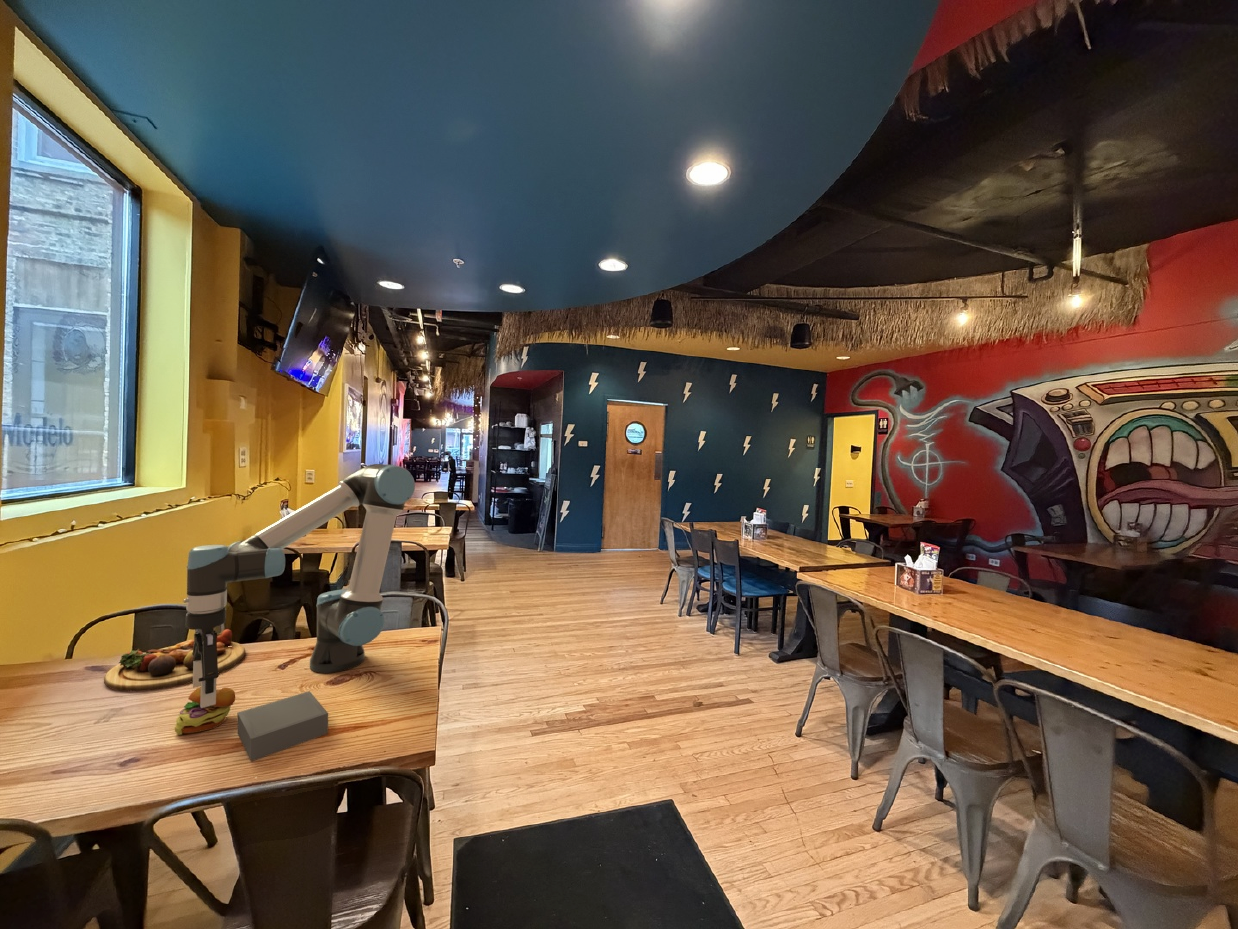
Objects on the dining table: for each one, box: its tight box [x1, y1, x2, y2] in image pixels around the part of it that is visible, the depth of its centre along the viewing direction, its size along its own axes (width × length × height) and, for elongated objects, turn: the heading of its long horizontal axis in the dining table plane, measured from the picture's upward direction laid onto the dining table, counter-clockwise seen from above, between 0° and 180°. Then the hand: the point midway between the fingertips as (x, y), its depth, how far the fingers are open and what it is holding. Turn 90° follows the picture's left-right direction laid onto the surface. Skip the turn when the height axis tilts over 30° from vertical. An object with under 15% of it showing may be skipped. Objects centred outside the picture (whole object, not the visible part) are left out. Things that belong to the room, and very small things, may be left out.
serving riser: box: [236, 690, 329, 762], centre depth 116 cm, size 15×15×5 cm
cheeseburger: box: [174, 686, 236, 736], centre depth 119 cm, size 10×11×10 cm
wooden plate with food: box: [103, 628, 246, 692], centre depth 149 cm, size 32×32×8 cm
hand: (203, 695), depth 119 cm, fingers open, 13 cm apart
